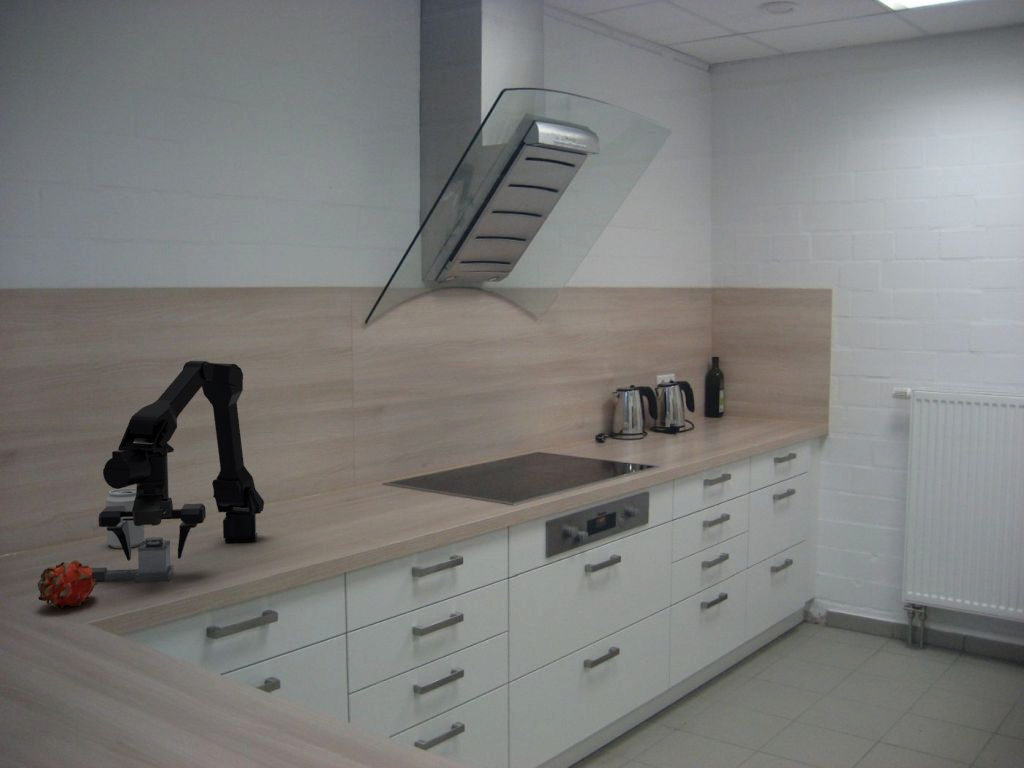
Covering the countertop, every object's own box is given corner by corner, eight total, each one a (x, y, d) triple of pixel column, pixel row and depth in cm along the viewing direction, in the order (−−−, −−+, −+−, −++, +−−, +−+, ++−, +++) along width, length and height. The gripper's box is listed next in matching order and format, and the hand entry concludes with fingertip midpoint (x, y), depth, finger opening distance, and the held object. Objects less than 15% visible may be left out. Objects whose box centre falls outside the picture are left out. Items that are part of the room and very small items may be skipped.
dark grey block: (170, 565, 196) (169, 535, 195) (166, 572, 191) (165, 541, 190) (143, 566, 195) (142, 536, 194) (138, 574, 190) (137, 542, 189)
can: (151, 542, 219) (150, 487, 218) (130, 550, 212) (128, 494, 211) (122, 539, 221) (120, 485, 220) (99, 547, 214) (97, 492, 213)
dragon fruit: (36, 625, 170) (87, 614, 181) (71, 599, 168) (120, 590, 179) (16, 581, 172) (67, 572, 183) (50, 555, 170) (100, 548, 181)
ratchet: (173, 572, 196) (173, 550, 196) (168, 581, 190) (168, 558, 190) (65, 577, 193) (64, 554, 192) (56, 586, 187) (55, 562, 186)
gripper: (90, 488, 181) (93, 573, 183) (198, 485, 185) (200, 568, 186) (103, 477, 192) (106, 557, 194) (205, 474, 196) (206, 552, 197)
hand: (154, 559), depth 193 cm, fingers open, 9 cm apart
